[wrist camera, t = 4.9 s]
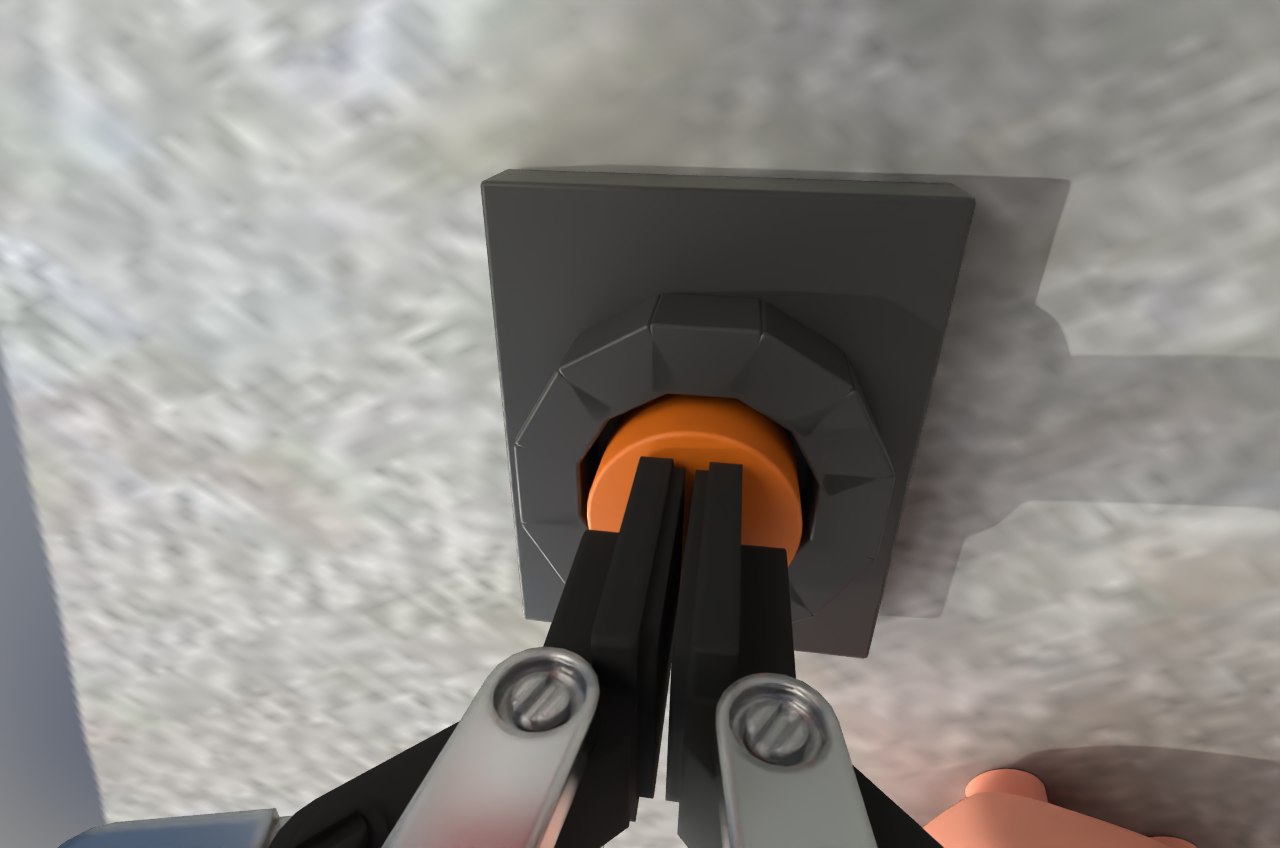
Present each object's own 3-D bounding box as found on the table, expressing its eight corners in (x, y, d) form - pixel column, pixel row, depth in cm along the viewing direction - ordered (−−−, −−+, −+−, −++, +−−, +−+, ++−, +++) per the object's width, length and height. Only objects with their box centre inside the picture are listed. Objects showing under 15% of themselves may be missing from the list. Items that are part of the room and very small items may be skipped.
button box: (504, 168, 13) (439, 198, 10) (955, 183, 12) (1014, 220, 9) (538, 580, 17) (500, 674, 15) (859, 616, 16) (879, 722, 14)
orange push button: (603, 377, 12) (582, 424, 11) (808, 391, 12) (817, 442, 10) (606, 537, 14) (588, 596, 12) (785, 555, 13) (789, 619, 12)
